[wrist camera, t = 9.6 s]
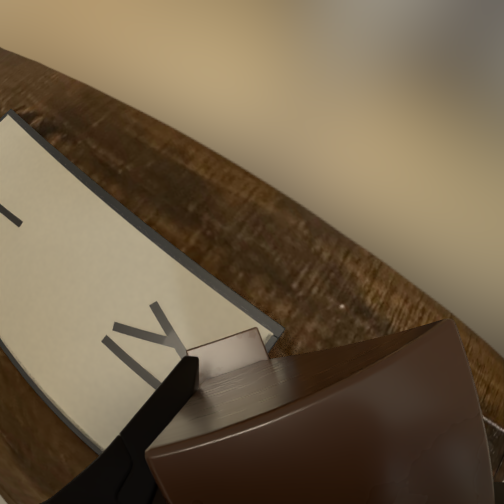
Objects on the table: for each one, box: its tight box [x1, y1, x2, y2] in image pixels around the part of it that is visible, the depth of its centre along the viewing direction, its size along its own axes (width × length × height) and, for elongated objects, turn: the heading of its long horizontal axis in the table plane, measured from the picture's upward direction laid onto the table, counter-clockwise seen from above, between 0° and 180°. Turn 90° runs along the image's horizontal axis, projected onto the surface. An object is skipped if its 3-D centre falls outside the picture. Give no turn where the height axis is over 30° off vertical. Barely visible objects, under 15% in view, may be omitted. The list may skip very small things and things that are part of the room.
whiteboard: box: [0, 109, 285, 455], centre depth 20 cm, size 37×15×1 cm, turn 54°
